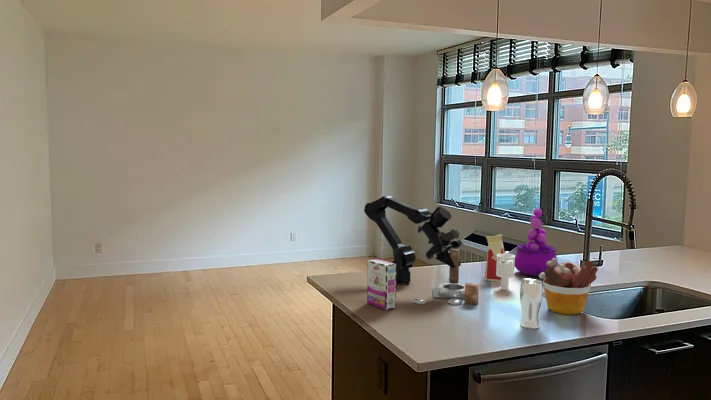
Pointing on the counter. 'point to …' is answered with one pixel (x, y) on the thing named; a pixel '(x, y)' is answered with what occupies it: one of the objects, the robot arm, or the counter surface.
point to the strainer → (505, 269)
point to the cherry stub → (471, 293)
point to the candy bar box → (381, 284)
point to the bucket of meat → (567, 286)
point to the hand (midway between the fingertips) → (457, 266)
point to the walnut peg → (455, 271)
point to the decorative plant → (534, 249)
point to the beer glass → (530, 302)
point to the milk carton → (493, 257)
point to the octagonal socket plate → (449, 291)
